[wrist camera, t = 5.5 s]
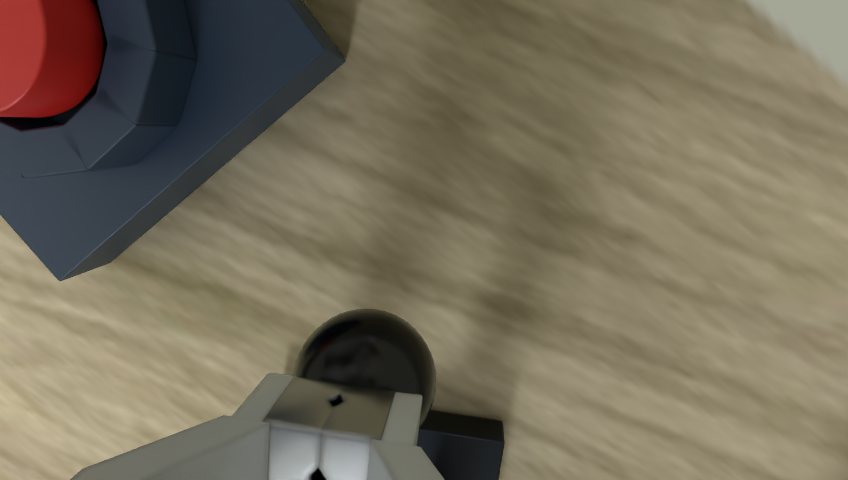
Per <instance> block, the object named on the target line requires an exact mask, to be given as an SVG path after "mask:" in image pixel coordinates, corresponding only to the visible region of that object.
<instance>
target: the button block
mask: <svg viewBox="0 0 848 480" xmlns="http://www.w3.org/2000/svg"><path fill="white" fill-rule="evenodd" d="M93 2H94V4H95V6H96V9H97V11H98V15H99V18H100V21H101V26H102V31H103V42H104V48H103V60H102V66H101V69H100V72H99V76H98V78H97V80H96V82H95V84H94V86H93V88H92V89H91V91H90V92H89V94H88V95H87V96H86V97H85V98H84V99H83V100H82V101H81V102H80V103H79V104H78V105H77V106H75V107H73V108H72V109H70V110H68V111H67V112H64V113H62V114H59V115H56V116H51V117H42V118H33V117H0V215H1V216H2V217H3V218H4V219H5V220H6V222H7V223H8V224H9V225H10V226H11V227H12V228H13V230H14V231H15V232H16V233H17V234H18V235H19V236H20V237H21V239H22V240H23V241H24V242H25V243H26V244H27V245H28V247H29V248H30V249H31V250H32V251H33V252H34V253H35V254H36V256H37V257H38V258H39V259H40V260H41V261H42V262H43V263H44V265H45V266H46V267H47V268H48V269H49V270H50V271H51V273H52V274H53V275H54V276H55V277H56V278H57V279H58V280H59V281H62V280H65V279H68V278H70V277H73V276H76V275H79V274H81V273H84V272H87V271H89V270H92V269H95V268H97V267H100V266H103V265H106V264H108V263H110V262H111V261H113V260H114V259H115V258H116V257H117V256H118V255H120V254H121V253H122V252H123V251H124V250H125V249H127V248H128V247H129V246H130V245H131V244H132V243H134V242H135V241H136V240H137V239H138V238H139V237H141V236H142V235H143V234H144V233H145V232H146V231H148V230H149V229H150V228H151V227H152V226H153V225H155V224H156V223H157V222H158V221H159V220H161V219H162V218H163V217H164V216H165V215H166V214H168V213H169V212H170V211H171V210H172V209H173V208H175V207H176V206H177V205H178V204H179V203H180V202H182V201H183V200H184V199H185V198H186V197H187V196H189V195H190V194H191V193H192V192H193V191H194V190H196V189H197V188H198V187H199V186H200V185H201V184H203V183H204V182H205V181H206V180H207V179H208V178H210V177H211V176H212V175H213V174H214V173H215V172H217V171H218V170H219V169H220V168H221V167H222V166H224V165H225V164H226V163H227V162H228V161H229V160H231V159H232V158H233V157H234V156H235V155H236V154H238V153H239V152H240V151H241V150H242V149H243V148H245V147H246V146H247V145H248V144H249V143H251V142H252V141H253V140H254V139H255V138H256V137H258V136H259V135H260V134H261V133H262V132H263V131H265V130H266V129H267V128H268V127H269V126H270V125H272V124H273V123H274V122H275V121H276V120H277V119H279V118H280V117H281V116H282V115H283V114H284V113H286V112H287V111H288V110H289V109H290V108H291V107H293V106H294V105H295V104H296V103H297V102H298V101H300V100H301V99H302V98H303V97H304V96H305V95H307V94H308V93H309V92H310V91H311V90H312V89H314V88H315V87H316V86H317V85H318V84H319V83H321V82H322V81H323V80H324V79H325V78H326V77H328V76H329V75H330V74H331V73H332V72H333V71H335V70H336V69H337V68H338V67H339V66H341V65H342V64H343V63H344V62H345V61H346V60H345V58H344V56H343V55H342V54H341V52H340V51H339V50H338V48H337V47H336V46H335V44H334V43H333V42H332V40H331V39H330V38H329V36H328V35H327V34H326V32H325V31H324V30H323V28H322V27H321V26H320V24H319V23H318V22H317V20H316V19H315V18H314V16H313V15H312V13H311V12H310V11H309V9H308V8H307V7H306V5H305V4H304V3H303V1H302V0H93Z"/></svg>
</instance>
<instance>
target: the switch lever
mask: <svg viewBox="0 0 848 480" xmlns="http://www.w3.org/2000/svg"><path fill="white" fill-rule="evenodd" d="M293 375H294V376H296V377H303V378H309V379H315V380H321V381H326V382H332V383H338V384H344V385H347V386H355V387H363V388H371V389H379V390H387V391H395V393H396V392H401V393H410V394H419V395H422V407H421V415H420V423H419V428H420V427H421V426H422V424H423V423H424V421H425V420H426V418H427V416H428V414H429V412H430V410H431V407H432V404H433V401H434V396H435V391H436V371H435V366H434V361H433V358H432V355H431V352H430V350H429V348H428V346H427V344H426V342H425V341H424V339H423V338H422V336H421V335H420V334H419V333H418V332H417V330H416V329H415V328H414V327H412V326H411V325H410V324H409V323H408V322H406V321H405V320H403V319H402V318H400V317H398V316H396V315H394V314H391V313H388V312H386V311H381V310H376V309H357V310H351V311H347V312H344V313H341V314H339V315H337V316H335V317H333V318H331V319H329V320H328V321H326V322H325V323H323V324H322V325H321V326H320V327H318V328H317V329H316V330H315V331H314V332H313V333H312V334H311V335H310V337H309V338H308V339H307V341H306V342H305V344H304V345H303V347H302V349H301V351H300V352H299V355H298V358H297V360H296V363H295V367H294V371H293Z"/></svg>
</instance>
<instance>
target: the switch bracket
mask: <svg viewBox="0 0 848 480" xmlns="http://www.w3.org/2000/svg"><path fill="white" fill-rule="evenodd" d="M504 443H505V442H504V432H503V423H502V422H501V421H497V420H490V419H484V418H477V417H471V416H464V415H458V414H451V413H445V412H438V411H432V410H430V412H429V414H428V416H427V418H426V420H425V421H424V423H423V424H422V426H421V427H420V428H419V431H418V439H417V446H418V447H421V448H422V450H423V451H424V452H425V454H426V455H427V457H428V458H429V459H430V461H431V462H432V463H433V465H434V466H435V467H436V469H437V470H438V471H439V473H440V474H441V476H442V477H443V478H444V480H498V478H499V472H500V467H501V461H502V455H503V449H504Z"/></svg>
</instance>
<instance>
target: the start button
mask: <svg viewBox="0 0 848 480" xmlns="http://www.w3.org/2000/svg"><path fill="white" fill-rule="evenodd" d="M103 48H104V42H103V31H102V26H101V21H100V18H99V15H98V11H97V9H96V6H95V4H94V2H93V0H0V117H33V118H42V117H51V116H56V115H59V114H62V113H64V112H67V111H68V110H70V109H72V108H73V107H75V106H77V105H78V104H79V103H80V102H81V101H82V100H83V99H84V98H85V97H86V96H87V95H88V94H89V92H90V91H91V89H92V88H93V86H94V84H95V82H96V80H97V78H98V76H99V72H100V69H101V66H102V60H103Z"/></svg>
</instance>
